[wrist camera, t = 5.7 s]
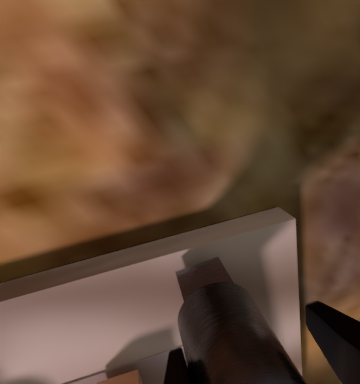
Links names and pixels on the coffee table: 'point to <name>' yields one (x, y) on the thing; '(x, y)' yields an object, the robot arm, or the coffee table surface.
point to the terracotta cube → (125, 379)
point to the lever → (228, 332)
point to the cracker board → (142, 303)
